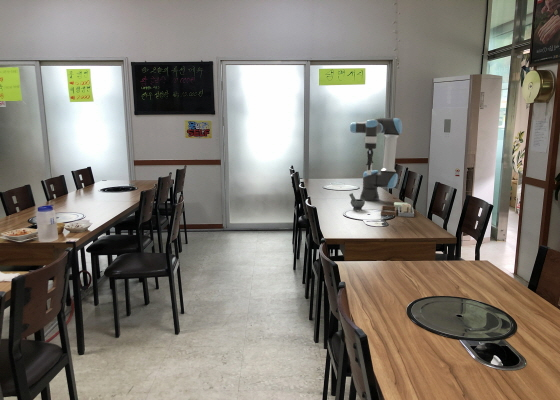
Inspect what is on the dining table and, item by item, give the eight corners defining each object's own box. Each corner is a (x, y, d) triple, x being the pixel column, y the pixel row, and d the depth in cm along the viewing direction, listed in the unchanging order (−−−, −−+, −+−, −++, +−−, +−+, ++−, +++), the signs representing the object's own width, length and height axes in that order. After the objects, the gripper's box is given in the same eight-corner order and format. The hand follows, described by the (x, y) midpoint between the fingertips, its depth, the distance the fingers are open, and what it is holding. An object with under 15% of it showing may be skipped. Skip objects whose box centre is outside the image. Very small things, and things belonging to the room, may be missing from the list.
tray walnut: (381, 209, 327) (381, 205, 326) (395, 209, 324) (396, 206, 324) (380, 214, 308) (381, 211, 307) (396, 215, 305) (396, 212, 305)
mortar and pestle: (363, 208, 328) (364, 192, 326) (365, 211, 319) (365, 194, 316) (348, 208, 329) (348, 191, 326) (349, 210, 320) (349, 194, 317)
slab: (393, 206, 335) (394, 202, 335) (407, 207, 333) (408, 202, 332) (393, 209, 326) (394, 204, 325) (408, 210, 323) (408, 205, 323)
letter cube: (401, 212, 317) (401, 203, 316) (410, 212, 316) (410, 204, 314) (401, 214, 311) (401, 205, 310) (410, 214, 310) (410, 206, 309)
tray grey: (398, 209, 324) (398, 206, 324) (412, 210, 322) (412, 207, 321) (398, 215, 305) (398, 212, 305) (413, 216, 303) (414, 213, 302)
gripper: (366, 141, 323) (364, 171, 327) (364, 143, 299) (362, 175, 303) (377, 141, 321) (375, 171, 325) (375, 144, 298) (374, 176, 302)
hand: (369, 173), depth 314 cm, fingers open, 13 cm apart
